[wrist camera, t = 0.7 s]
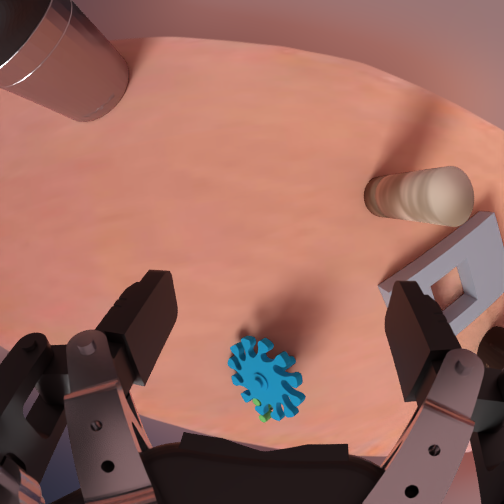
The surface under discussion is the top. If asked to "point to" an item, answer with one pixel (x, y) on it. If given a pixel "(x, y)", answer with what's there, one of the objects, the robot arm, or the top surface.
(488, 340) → the coffee mug
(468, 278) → the seat board
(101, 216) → the top surface
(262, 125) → the top surface
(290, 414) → the gear
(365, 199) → the ash leg
